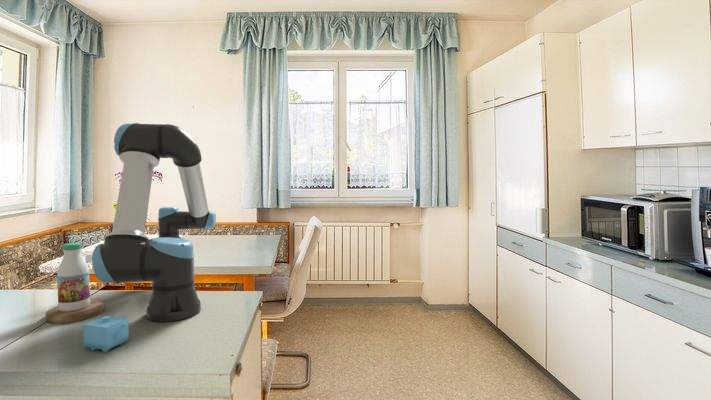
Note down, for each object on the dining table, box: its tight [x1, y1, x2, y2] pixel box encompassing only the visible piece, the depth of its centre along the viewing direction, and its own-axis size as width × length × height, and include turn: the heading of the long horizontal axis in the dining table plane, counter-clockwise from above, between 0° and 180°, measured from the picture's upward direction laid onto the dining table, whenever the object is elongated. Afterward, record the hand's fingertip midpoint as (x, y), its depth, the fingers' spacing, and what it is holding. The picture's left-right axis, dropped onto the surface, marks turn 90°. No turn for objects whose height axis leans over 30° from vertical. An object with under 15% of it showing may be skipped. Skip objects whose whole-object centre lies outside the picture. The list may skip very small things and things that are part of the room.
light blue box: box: [82, 315, 130, 353], centre depth 88 cm, size 12×6×8 cm, turn 76°
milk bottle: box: [56, 242, 91, 312], centre depth 109 cm, size 8×8×20 cm
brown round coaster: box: [44, 299, 104, 325], centre depth 110 cm, size 14×14×2 cm
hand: (103, 260), depth 119 cm, fingers open, 13 cm apart
